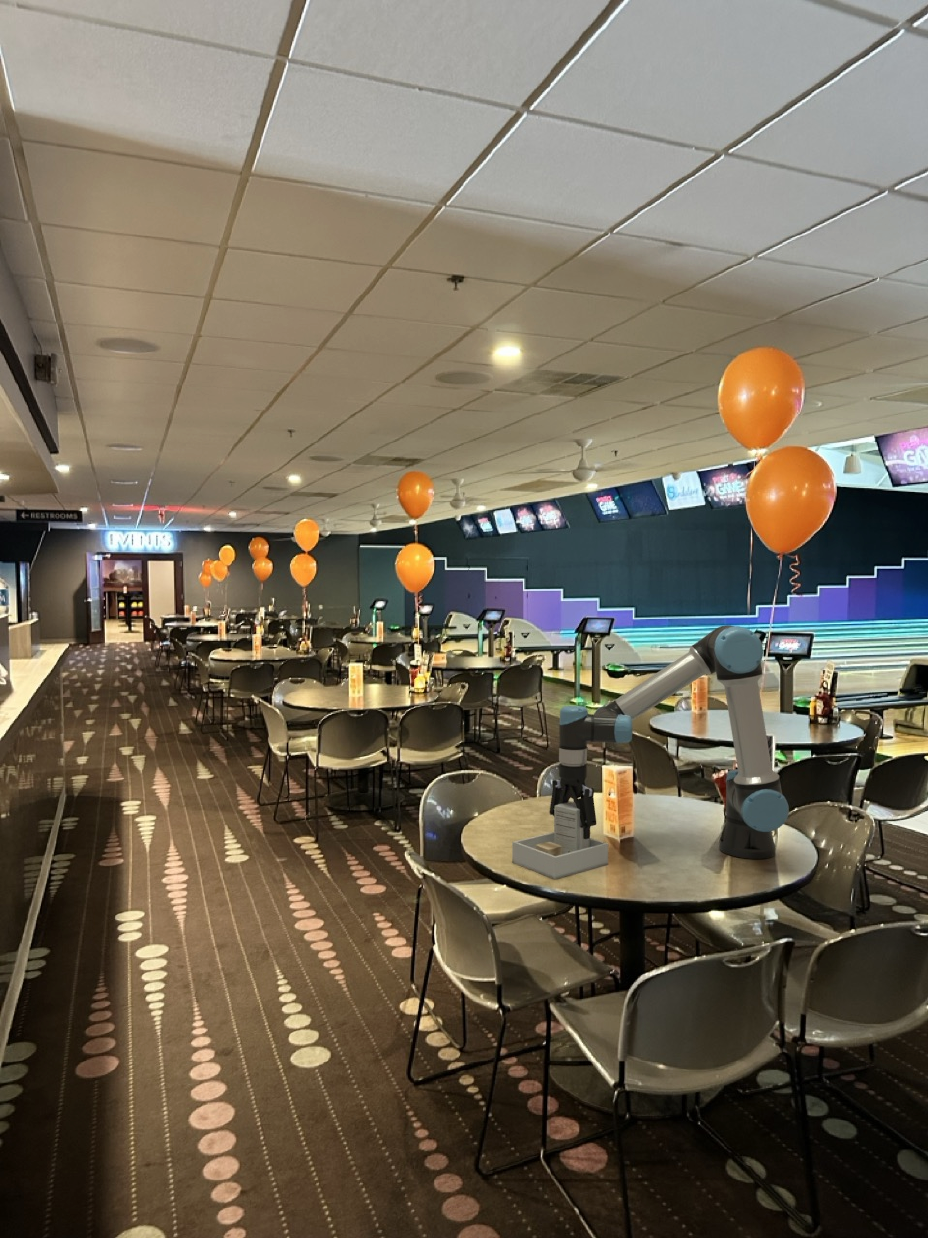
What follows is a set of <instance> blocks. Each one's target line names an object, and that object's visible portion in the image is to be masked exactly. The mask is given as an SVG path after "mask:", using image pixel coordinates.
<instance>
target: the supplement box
mask: <svg viewBox="0 0 928 1238" xmlns="http://www.w3.org/2000/svg"><path fill="white" fill-rule="evenodd" d="M553 819H554V822H553V823H554V824H553V825H554V828H553V829H554V831H553V832H554V844H557V845H560V846H562V853H564V854H566V853H570V852H574V851H578V850H579V838H580V826H582V824H581V820H580V809H578V808H577V806H576V803H575V802H574V801H572V800H569V801H568V802H567V803H562V804H558V805H556V806H554V816H553ZM589 847H590V839H589ZM589 847H588V848H589Z"/></svg>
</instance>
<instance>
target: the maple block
mask: <svg viewBox="0 0 928 1238" xmlns="http://www.w3.org/2000/svg"><path fill="white" fill-rule="evenodd" d="M535 849H537V850H539V851H542V852H545V853H548V854H550V855H553V856H559V855H562V846H560V845H557V844H554V843H552V842H546V843H542V844H538V845H535Z"/></svg>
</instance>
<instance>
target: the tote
mask: <svg viewBox="0 0 928 1238" xmlns="http://www.w3.org/2000/svg"><path fill="white" fill-rule="evenodd" d="M546 842H552V843H554V831H553V832H548V833H545V834H540V835H539V834H538V835H536V836H532V837H527V838H523V839H519V840H516V841H514V840H513V841H512V846H511V848H512V853H511V855H512V861H511V863H512V864H515V865H518V866H521V867H523V868H524V869H528V870H530V871H532V872H535V873H538V874H539V875H542V876H545V877H548V878H549V879H550V878H551V879H553V880H559V879H562V878H565V877H570V876H572V875H577V874H579V873H583V872H586V871H589V870H593V869H596V868H600V867H604V866H608V865H609V843H608V842H604V841H603V840H602V841H601V840H598V839H594V838H591V837H590V847H589V848H585V849H581V850H578V851H574V852H570V853H566V854H564V853H562V855H559V856H553V855H550V854H548V853H545V852H542V851H539V850H537V849H535V845H538V844H542V843H546Z"/></svg>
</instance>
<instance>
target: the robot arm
mask: <svg viewBox="0 0 928 1238" xmlns="http://www.w3.org/2000/svg"><path fill="white" fill-rule="evenodd" d="M763 656H764V647H763V643H762V641H761V639H760V638H759V637H758V636H757V634H756V633H755V632H753V631H752V629H751V630H750V629H749V628H746V627H743V626H739V625H738V626H736V625H731V624H730V625H728V624H727V625H726V624H725V625H722V626H719V627H716V628H715V629H713V630H711V632H709V633H707V634H706V635H705V636H703V637H701V639H699V640H698V641H697V642H695V643H694V644H692V645H691V646H690V647H689V650H688V652H687V653H685V654H684V655H682V656H680V657H679V658H677V659H676V660H674V661H672V662H671V663H670V664H668V665H666V666H664V668H662V669H661V670H659V671H658V672H656V673H654V674H653V675H652V676H650V677H648V678H647V679H645V680H644V681H642V682H641V683H639V684H637V685H636V686H634V687H633V688H631V689H630V690H628V691H627V692H625V693H623V694H622V695H621V696H619V697H618V698H616V699H614V700H613V701H611V702H610V703H608V704H607V705H603V706H600V707H598V708H596V710H595V711H594V714H592V713H589V711H588V708H587V707H586V706H583V705H579V706H578V705H566V706H562V708H560V711H559V724H558V726H559V727H558V730H559V732H558V734H559V735H558V743H559V745H558V747H559V748H558V762H559V764H558V777H559V778H560V779H555V780H554V779H553V780H552V781H551V784H552V793H551V798H550V799H551V800H550V806H549V815H550V816H553V817H554V806H556V805H558V804H562V803H567V802H568V801H570V799H572V800H573V802H575V803H576V806H577V808H578V809H580V820H581V824H582V826H580V838H579V850H581V849H585V848H588V847H589V839H590V838H591V827H593V826H596V825H597V816H596V808H595V801H594V796H595V795H594V794H595V788H593V787H590V788H589V787H588V786H586V785H587V784H586V781H585V780H586V779H587V776H588V766H587V764H586V763H587V761H588V760H587V759H588V757H587V756H588V743H606V744H607V743H609V744H612V743H613V744H625V743H626V744H627V743H631V742H632V739H633V721H634V720H635V719H637V718H638V717H641V716H642V715H643V714H645V713H647V712H648V711H649V710H651V709H653V708H655V707H656V706H658V705H659V704H661V703H662V702H663V701H665V700H667V699H669V698H670V697H671V696H673V695H675V694H677V692H679V691H681V690H683V689H684V688H685V687H687V686H688V685H690V684H692V683H693V682H695V681H696V680H698V679H699V678H701V677H703V676H704V675H708V676H710V675H712V674H714V673H715V675H716V680H717V681H718V682H719V683H721V684H722V685H723V687H724V693H725V698H726V700H725V701H726V704H727V711H728V712H727V713H728V716H729V717H728V718H729V723H730V730H731V735H732V742H733V748H734V755H735V760H736V766H737V769H730V770H728V771H727V772H726V779H725V783H726V785H725V786H726V787H725V789H726V790H725V791H726V792H725V793H726V794H725V797H726V798H725V823H724V826H723V829H722V832H721V834H720V836H719V837H720V838H719V841H718V849H719V851H720V852H722V853H724V854H726V855H729V856H733V857H737V858H742V859H751V860H760V859H761V860H762V859H763V860H764V859H770V858H772V857H774V856H775V855H776V843H775V841H774V837H773V834H772V832H773V831H776V830H778V829H780V828H781V827H782V826H783V825H784V824H785V823H786V821H787V820H788V818H789V813H790V810H789V809H790V807H789V804H788V801H787V799H786V796H784V795H783V791H782V786H781V779H780V775H779V774H778V773H777V772H775V771H774V769H773V767H772V762H771V755H770V749H769V742H768V738H767V731H766V724H765V719H764V717H765V716H764V712H763V705H762V700H761V693H760V686H759V680H760V679H761V678H762V676H763V675H764V674H763V667H762V660H763Z"/></svg>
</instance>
